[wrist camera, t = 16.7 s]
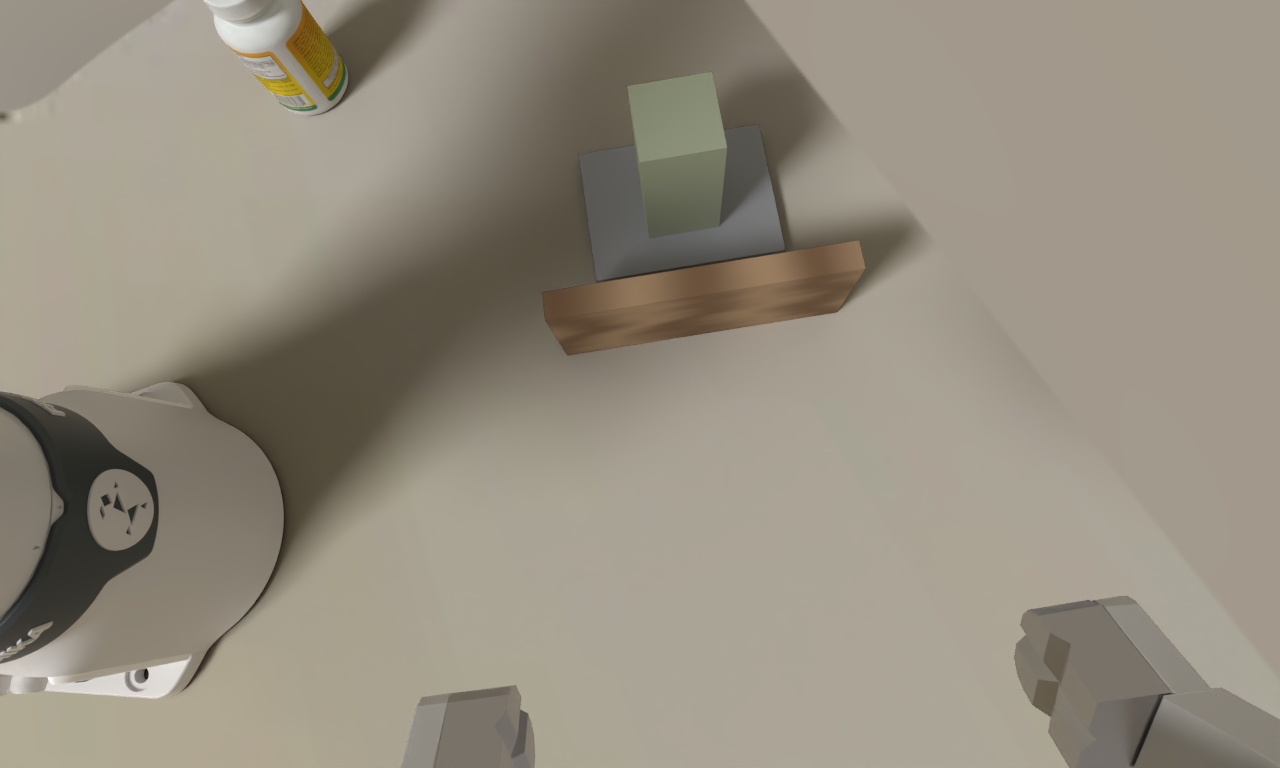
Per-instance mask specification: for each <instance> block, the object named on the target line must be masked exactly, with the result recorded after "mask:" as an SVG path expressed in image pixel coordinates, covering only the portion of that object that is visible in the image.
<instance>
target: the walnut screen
mask: <svg viewBox="0 0 1280 768" xmlns="http://www.w3.org/2000/svg"><path fill="white" fill-rule="evenodd" d="M865 269H866V268H865V263H864V259H863V255H862V251H861V247H860V242H859V240H858V241H852V242H846V243H840V244H834V245H828V246H822V247H815V248H809V249H803V250H797V251H791V252H785V253H779V254H772V255H766V256H760V257H754V258H748V259H742V260H736V261H730V262H723V263H717V264H711V265H705V266H699V267H693V268H687V269H681V270H674V271H668V272H662V273H656V274H650V275H644V276H638V277H631V278H625V279H619V280H613V281H607V282H601V283H595V284H589V285H582V286H576V287H570V288H564V289H558V290H552V291H546V292H542V298H543V306H544V314H545V321H546V322H547V324H548V325H549V327H550V329H551V330H552V332H553V333H554V335H555V336H556V338H557V340H558V341H559V343H560V344H561V346H562V347H563V349H564V351H565V352H566V354H567V355H573V354H579V353H585V352H591V351H598V350H604V349H610V348H616V347H623V346H629V345H635V344H641V343H648V342H654V341H660V340H666V339H673V338H679V337H685V336H691V335H698V334H704V333H710V332H716V331H723V330H729V329H735V328H741V327H748V326H754V325H760V324H766V323H773V322H779V321H785V320H791V319H798V318H804V317H810V316H816V315H823V314H829V313H835V312H838V310H839V309H840V307H841V306H842V304H843V302H844V301H845V299H846V298H847V296H848V295H849V293H850V292H851V290H852V289H853V287H854V286H855V284H856V283H857V281H858V279H859V278H860V276H861V275H862V273H863V272H864V270H865Z"/></svg>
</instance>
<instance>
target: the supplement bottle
mask: <svg viewBox="0 0 1280 768" xmlns="http://www.w3.org/2000/svg"><path fill="white" fill-rule="evenodd" d="M203 1H204V2H205V3H206V4H207V6H208V7H209V8H210V10H211V11H212V12H213V13H214V22H215V26H216V29H217V32H218V33H219V35H220V37H221V38H222V40H223V41H224V42H225V43H226V44H227V45H228V47H229V48H230V49H231V50H232V51H233V52H234V53H235V54H236V55H237V57H238V58H239V59H240V60H241V61H242V62H243V63H244V64H245V65H246V67H247V68H248V69H249V70H250V71H251V72H252V73H253V74H254V75H255V76H256V78H257V79H258V80H259V81H260V82H261V83H262V84H263V85H264V86H265V87H266V89H267V90H268V91H269V92H270V93H271V94H272V95H273V96H274V97H275V99H276V100H277V101H278V102H279V103H280V104H281V105H282V106H283V107H284V108H286V109H287V110H289V111H291V112H293V113H295V114H298V115H305V116H309V115H317V114H320V113H323V112H325V111H327V110H329V109H331V108H332V107H333V106H335V105H336V104H337V103H338V102H339V100H340V99H341V98H342V96H343V94H344V92H345V90H346V88H347V84H348V71H347V68H346V65H345V63H344V61H343V60H342V59H341V57H340V55H339V54H338V53H337V51H336V50H335V48H334V47H333V45H332V44H331V42H330V41H329V40H328V38H327V37H326V35H325V34H324V32H323V31H322V30H321V28H320V27H319V25H318V24H317V23H316V21H315V20H314V18H313V17H312V15H311V14H310V13H309V11H308V10H307V8H306V7H305V5H304V4H303V2H302V1H301V0H203Z"/></svg>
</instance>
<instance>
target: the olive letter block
mask: <svg viewBox="0 0 1280 768" xmlns="http://www.w3.org/2000/svg"><path fill="white" fill-rule="evenodd" d="M627 89H628V97H629V105H630V112H631V120H632V128H633V135H634V143H635V151H636V158H637V166H638V174H639V180H640V186H641V192H642V199H643V205H644V211H645V217H646V223H647V229H648V236H649V238H655V237H661V236H667V235H673V234H679V233H685V232H691V231H697V230H703V229H709V228H715V227H719V223H720V213H721V203H722V194H723V184H724V174H725V164H726V154H727V144H726V139H725V134H724V129H723V124H722V119H721V114H720V109H719V104H718V99H717V94H716V89H715V83H714V78H713V73H712V72H707V73H701V74H695V75H689V76H683V77H678V78H672V79H666V80H660V81H654V82H649V83H643V84H637V85H631V86H627Z"/></svg>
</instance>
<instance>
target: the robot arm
mask: <svg viewBox="0 0 1280 768" xmlns="http://www.w3.org/2000/svg"><path fill="white" fill-rule="evenodd" d="M283 524H284V511H283V501H282V495H281V490H280V486H279V483H278V480H277V477H276V474H275V472H274V470H273V468H272V466H271V464H270V462H269V460H268V459H267V457H266V456H265V454H264V453H263V452H262V450H261V449H260V448H259V447H258V446H257V445H256V444H255V443H254V441H253V440H251V439H250V438H249V437H248V436H247V435H245V434H244V433H243V432H241V431H240V430H238V429H236V428H235V427H233V426H231V425H229V424H227V423H225V422H223V421H221V420H219V419H217V418H215V417H214V416H212V415H211V414H210V413H208V412H207V410H206V409H205V407H204V406H203V405H202V403H201V402H200V400H199V399H198V398H197V396H196V395H195V394H194V393H193V392H192V391H191V390H190V389H189V388H188V387H187V386H185V385H183V384H180V383H174V382H161V383H157V384H154V385H152V386H149V387H146V388H143V389H141V390H138V391H135V392H132V393H129V394H127V393H122V392H117V391H111V390H106V389H100V388H95V387H89V386H82V385H72V386H67V387H66V388H65V389H64V390H63V392H58V393H54V394H51V395H48V396H45V397H43V398H40V399H35V398H31V397H28V396H23V395H18V394H13V393H6V392H0V696H3V695H5V694H7V692H8V691H9V690H10V688H11V693H13V694H25V693H34V692H40V691H53V692H67V693H81V694H95V695H109V696H123V697H137V698H152V699H156V698H165V697H171V696H174V695H176V694H178V693H180V692H181V691H182V690H183V689H184V688H185V687H186V686H187V684H188V683H189V682H190V680H191V679H192V677H193V675H194V674H195V672H196V670H197V669H198V667H199V665H200V663H201V661H202V660H203V658H204V656H205V654H206V652H207V650H208V649H209V648H210V647H211V645H212V644H213V643H214V642H215V641H216V640H217V639H218V638H219V637H221V636H222V635H223V634H224V633H225V632H226V631H228V630H229V629H230V628H231V627H232V626H233V625H234V624H236V623H237V622H238V621H239V620H240V619H241V618H242V617H243V616H244V615H245V613H246V612H247V611H248V610H249V609H250V608H251V606H252V605H253V604H254V603H255V601H256V600H257V598H258V597H259V595H260V594H261V592H262V591H263V589H264V587H265V585H266V584H267V582H268V580H269V578H270V576H271V573H272V571H273V569H274V566H275V563H276V561H277V557H278V554H279V550H280V546H281V541H282V535H283ZM1020 626H1021V627H1022V629H1023V630H1024V632H1025V634H1026V635H1025V636H1024V637H1023V638H1022V639H1021V640H1020V641H1019V642H1018V643H1017V644H1016V649H1015V656H1014V659H1015V665H1016V670H1017V675H1018V678H1019V680H1020V682H1021V685H1022V687H1023V690H1024V691H1025V693H1026V695H1027V697H1028V698H1029V700H1030V702H1031V704H1032V705H1033V706H1035V707H1036V708H1038V709H1039V710H1041V711H1042V712H1044V713H1045V714H1047V715H1048V716H1050V723H1049V731H1048V733H1049V734H1050V736H1051V738H1052V739H1053V741H1054V743H1055V744H1056V746H1057V748H1058V749H1059V751H1060V753H1061V754H1062V756H1063V758H1064V759H1065V761H1066V763H1067V764H1068V766H1069V768H1280V720H1279V719H1278V718H1276V717H1274V716H1272V715H1270V714H1269V713H1267V712H1265V711H1263V710H1261V709H1259V708H1258V707H1256V706H1254V705H1252V704H1250V703H1249V702H1247V701H1245V700H1243V699H1241V698H1240V697H1238V696H1236V695H1234V694H1232V693H1230V692H1229V691H1227V690H1225V689H1223V688H1212V689H1211V688H1210V687H1209V686H1208V684H1207V683H1206V682H1205V681H1204V680H1203V679H1202V677H1201V676H1200V675H1199V674H1198V673H1197V672H1196V670H1195V669H1194V668H1193V667H1192V666H1191V665H1190V664H1189V662H1188V661H1187V660H1186V659H1185V658H1184V657H1183V655H1182V654H1181V653H1180V652H1179V651H1178V650H1177V648H1176V647H1175V646H1174V645H1173V644H1172V643H1171V641H1170V640H1169V639H1168V638H1167V637H1166V636H1165V634H1164V633H1163V632H1162V631H1161V630H1160V629H1159V627H1158V626H1157V625H1156V624H1155V623H1154V622H1153V620H1152V619H1151V618H1150V617H1149V616H1148V615H1147V613H1146V612H1145V611H1144V610H1143V609H1142V608H1141V607H1140V605H1139V604H1138V603H1137V602H1136V601H1135V600H1133V599H1132V598H1130V597H1128V596H1117V597H1111V598H1105V599H1099V600H1093V601H1090V600H1086V601H1080V602H1073V603H1067V604H1061V605H1055V606H1049V607H1043V608H1036V609H1030V610H1027V611H1026V612H1025V613H1024V614H1023V616H1022V620H1021V624H1020ZM145 669H147V670H148V672H149V677H148V679H147V680H146V679H145V677H144V672H145ZM520 706H521V696H520V693H519V691H518V689H517V687H516V685H513V686H505V687H497V688H489V689H482V690H474V691H466V692H458V693H449V694H442V695H435V696H428V697H422V698H421V700H420V702H419V703H418V705H417V707H416V709H415V713H414V717H413V721H412V725H411V729H410V733H409V737H408V741H407V745H406V750H405V754H404V758H403V762H402V766H401V768H534V766H535V744H534V733H533V728H532V723H531V721H530V718H529V715H528V714H527V713H526V712H524V711H522V710H520Z"/></svg>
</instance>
